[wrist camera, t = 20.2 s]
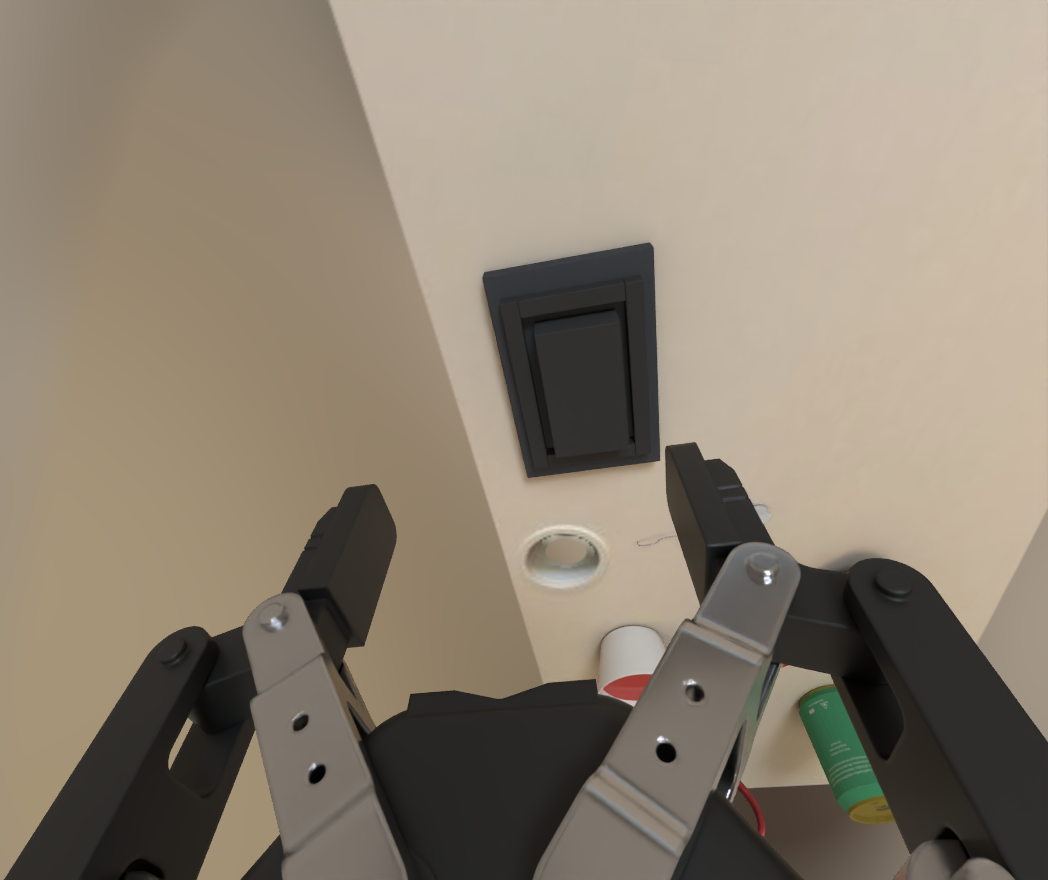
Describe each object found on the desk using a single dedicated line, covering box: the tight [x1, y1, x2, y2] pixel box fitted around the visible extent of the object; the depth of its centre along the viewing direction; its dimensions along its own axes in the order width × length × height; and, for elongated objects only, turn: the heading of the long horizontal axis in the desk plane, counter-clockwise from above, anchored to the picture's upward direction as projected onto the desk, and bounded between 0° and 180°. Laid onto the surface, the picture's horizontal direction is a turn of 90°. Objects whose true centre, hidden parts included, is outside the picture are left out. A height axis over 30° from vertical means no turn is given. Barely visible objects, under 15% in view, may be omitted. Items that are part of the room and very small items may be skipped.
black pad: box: [534, 309, 629, 458], centre depth 35 cm, size 10×6×2 cm, turn 10°
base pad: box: [483, 243, 660, 478], centre depth 36 cm, size 17×11×2 cm, turn 10°
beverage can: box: [799, 685, 895, 824], centre depth 58 cm, size 8×8×12 cm
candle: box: [598, 626, 666, 707], centre depth 54 cm, size 9×9×6 cm
